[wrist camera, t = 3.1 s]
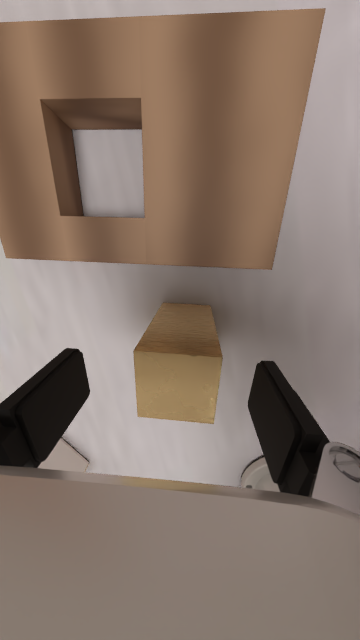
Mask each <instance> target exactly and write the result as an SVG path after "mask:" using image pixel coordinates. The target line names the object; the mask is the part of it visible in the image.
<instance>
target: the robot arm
mask: <svg viewBox="0 0 360 640" xmlns="http://www.w3.org/2000/svg"><path fill="white" fill-rule="evenodd" d="M89 394H90V388H89V383H88V378H87V373H86V368H85V363H84V358H83V354H82V352H80V351H79V349H71V348H66V349H65V350H63V351H62V352H61V353H60V354H59V355H57V356H56V357H55V358H54V359H53V360H51V361H50V362H49V363H48V364H47V365H46V366H44V367H43V368H42V369H41V370H40V371H38V372H37V373H36V374H35V375H34V376H33V377H31V378H30V379H29V380H28V381H27V382H25V383H24V384H23V385H22V386H21V387H19V388H18V389H17V390H16V391H15V392H14V393H12V394H11V395H10V396H9V397H8V398H6V399H5V400H4V401H3V402H2V403H1V404H0V640H360V453H359V452H358V451H356V450H354V449H353V448H351V447H349V446H347V445H345V444H342V443H338V442H330V441H329V440H328V438H327V437H326V435H325V434H324V432H323V431H322V430H321V428H320V427H319V425H318V424H317V422H316V421H315V419H314V418H313V416H312V415H311V413H310V412H309V410H308V409H307V408H306V406H305V405H304V403H303V402H302V400H301V399H300V397H299V396H298V394H297V393H296V392H295V391H294V390H293V389H292V387H291V386H290V384H289V383H288V381H287V380H286V378H285V377H284V375H283V374H282V372H281V371H280V369H279V368H278V366H277V365H276V364H275V362H274V361H261V362H260V363H258V364H257V366H256V370H255V374H254V379H253V383H252V387H251V392H250V396H249V400H248V409H249V412H250V415H251V418H252V421H253V424H254V427H255V430H256V433H257V436H258V439H259V442H260V445H261V448H262V451H263V454H264V457H263V458H261V459H259V460H257V461H255V462H254V463H252V464H251V465H250V466H249V467H248V468H247V469H246V470H245V472H244V473H243V475H242V479H241V487H242V488H241V487H231V486H222V485H212V484H202V483H192V482H182V481H172V480H161V479H151V478H140V477H130V476H119V475H108V474H97V473H86V472H75V471H64V470H52V469H41V468H38V466H39V465H40V464H41V462H43V461H45V460H46V459H47V458H48V456H49V455H50V453H51V452H52V450H53V449H54V447H55V446H56V444H57V443H58V441H59V440H60V438H61V437H62V435H63V434H64V432H65V431H66V429H67V428H68V426H69V425H70V423H71V422H72V420H73V419H74V417H75V416H76V414H77V413H78V411H79V410H80V409H81V407H82V406H83V404H84V403H85V401H86V400H87V398H88V396H89Z"/></svg>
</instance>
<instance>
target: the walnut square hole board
mask: <svg viewBox="0 0 360 640" xmlns="http://www.w3.org/2000/svg"><path fill="white" fill-rule="evenodd" d="M325 9H326V8H323V9H300V10H277V11H254V12H231V13H208V14H185V15H162V16H139V17H116V18H93V19H69V20H46V21H23V22H0V238H1V242H2V245H3V249H4V252H5V256H6V258H15V259H38V260H61V261H84V262H107V263H130V264H153V265H176V266H199V267H222V268H245V269H268V270H272V266H273V261H274V257H275V252H276V247H277V242H278V237H279V232H280V227H281V223H282V218H283V213H284V208H285V203H286V198H287V193H288V189H289V184H290V179H291V174H292V169H293V164H294V160H295V155H296V150H297V145H298V140H299V135H300V130H301V126H302V121H303V116H304V111H305V106H306V101H307V96H308V92H309V87H310V82H311V77H312V72H313V67H314V63H315V58H316V53H317V48H318V43H319V38H320V33H321V29H322V24H323V19H324V14H325ZM72 129H142V144H143V177H144V211H145V218H119V217H84V216H83V209H82V202H81V194H80V187H79V179H78V172H77V164H76V157H75V150H74V142H73V135H72Z"/></svg>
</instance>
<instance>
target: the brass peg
mask: <svg viewBox="0 0 360 640" xmlns="http://www.w3.org/2000/svg"><path fill="white" fill-rule="evenodd" d="M222 359H223V357H222V353H221V349H220V344H219V340H218V336H217V332H216V327H215V323H214V319H213V315H212V310H211V306H210V305H195V304H178V303H163V304H162V305H161V307H160V308H159V310H158V312H157V313H156V315H155V317H154V318H153V320H152V322H151V323H150V325H149V326H148V328H147V330H146V331H145V333H144V335H143V336H142V338H141V340H140V341H139V343H138V344H137V346H136V348H135V349H134V367H135V382H136V398H137V413H138V417H147V418H157V419H168V420H178V421H188V422H199V423H209V424H214V417H215V410H216V403H217V395H218V388H219V381H220V373H221V366H222Z"/></svg>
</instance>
